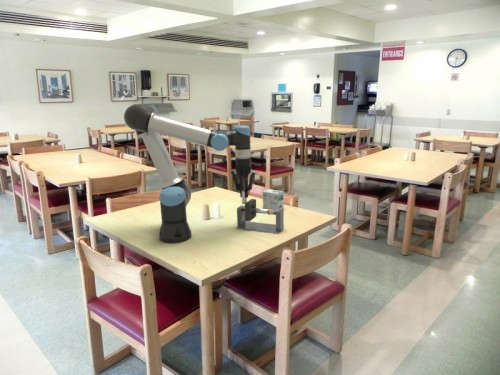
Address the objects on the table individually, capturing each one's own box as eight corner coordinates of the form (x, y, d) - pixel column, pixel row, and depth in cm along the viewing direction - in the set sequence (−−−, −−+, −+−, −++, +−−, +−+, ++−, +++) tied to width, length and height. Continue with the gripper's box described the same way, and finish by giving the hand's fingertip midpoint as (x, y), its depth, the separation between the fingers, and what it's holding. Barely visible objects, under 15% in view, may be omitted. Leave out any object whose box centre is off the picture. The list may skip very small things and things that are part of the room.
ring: (245, 220, 185) (244, 203, 183) (251, 215, 193) (251, 198, 191) (249, 221, 184) (249, 204, 182) (256, 216, 192) (256, 199, 190)
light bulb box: (283, 208, 219) (284, 190, 216) (278, 211, 213) (278, 193, 211) (268, 206, 225) (268, 188, 222) (262, 209, 219) (262, 191, 216)
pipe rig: (235, 228, 188) (234, 208, 185) (243, 222, 197) (242, 203, 194) (279, 233, 179) (279, 213, 177) (284, 227, 188) (285, 207, 186)
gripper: (227, 158, 181) (229, 204, 187) (252, 159, 177) (253, 206, 182) (234, 155, 188) (235, 200, 194) (258, 156, 183) (259, 202, 189)
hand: (244, 203), depth 188 cm, fingers closed
